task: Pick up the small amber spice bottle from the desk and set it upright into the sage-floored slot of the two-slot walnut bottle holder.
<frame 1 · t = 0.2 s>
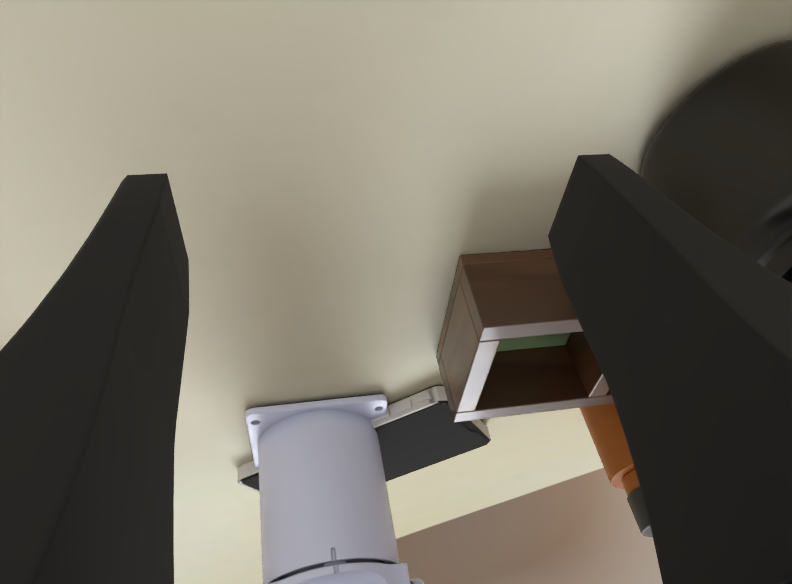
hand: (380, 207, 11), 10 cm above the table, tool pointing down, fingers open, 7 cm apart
smartphone: (363, 443, 41), on the table, touching arm
spice bottle: (604, 374, 39), on the table
holder: (586, 298, 32), on the table
ink bottle: (740, 133, 25), on the table
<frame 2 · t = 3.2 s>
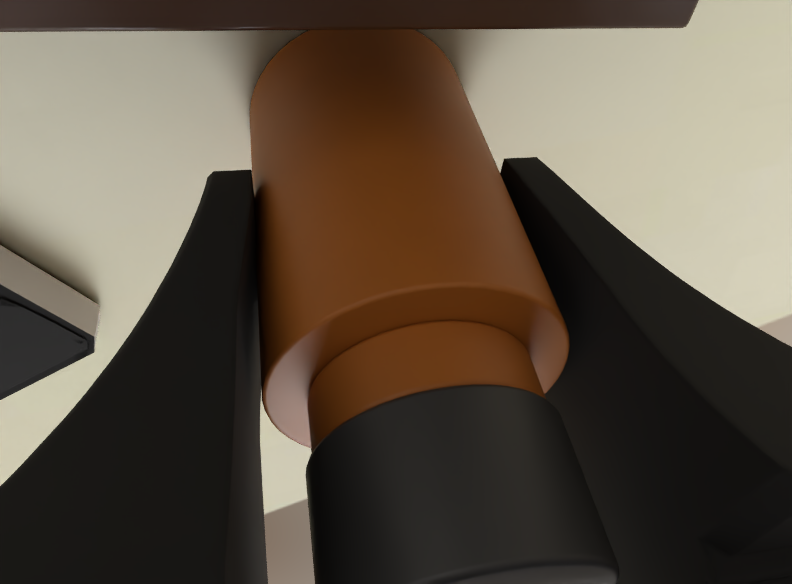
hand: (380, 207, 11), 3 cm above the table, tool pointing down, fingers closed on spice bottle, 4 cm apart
spice bottle: (358, 120, 13), on the table, touching gripper
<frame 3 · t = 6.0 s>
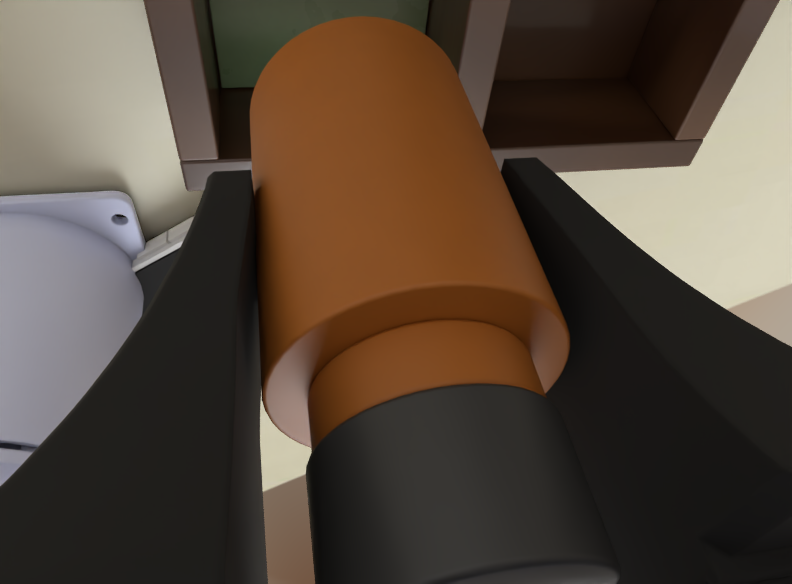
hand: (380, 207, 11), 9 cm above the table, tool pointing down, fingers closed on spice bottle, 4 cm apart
smartphone: (166, 314, 27), on the table, touching arm
spice bottle: (358, 119, 13), point 7 cm above the table, touching gripper
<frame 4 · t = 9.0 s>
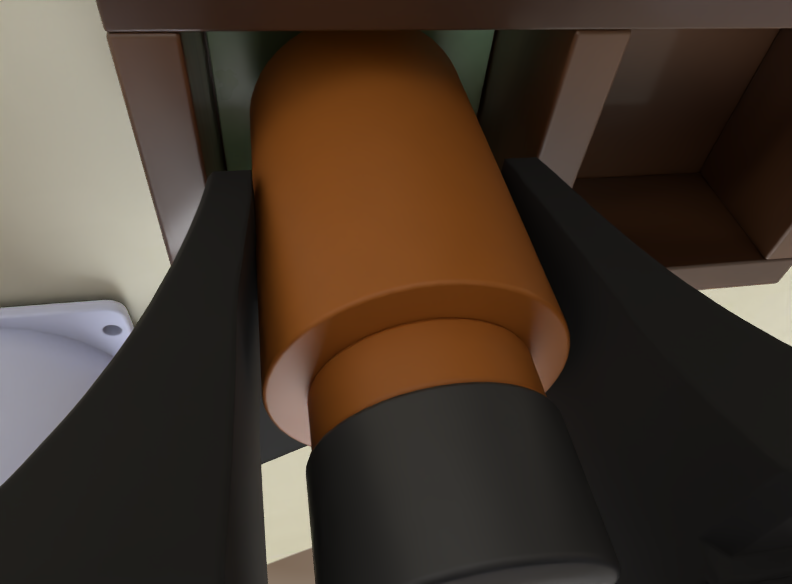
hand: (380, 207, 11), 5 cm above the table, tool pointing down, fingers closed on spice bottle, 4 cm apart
smartphone: (176, 412, 24), on the table, touching arm
spice bottle: (358, 118, 13), point 2 cm above the table, touching gripper
holder: (496, 67, 15), on the table
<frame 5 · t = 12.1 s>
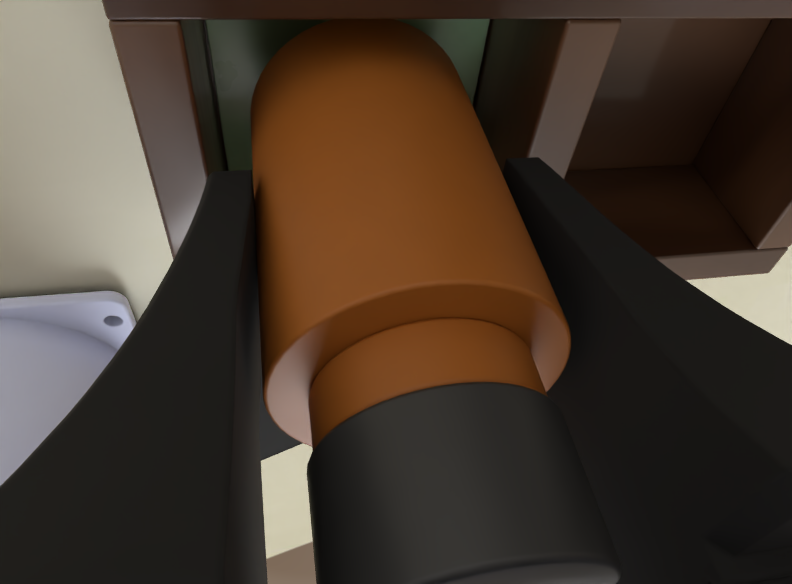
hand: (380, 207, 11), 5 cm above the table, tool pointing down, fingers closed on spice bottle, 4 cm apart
smartphone: (186, 405, 25), on the table, touching arm
spice bottle: (358, 118, 13), point 2 cm above the table, touching gripper
holder: (491, 60, 15), on the table
when the fingers open (5 cm above the table, at t = 14.9 s): spice bottle drops 1 cm, resting on holder.
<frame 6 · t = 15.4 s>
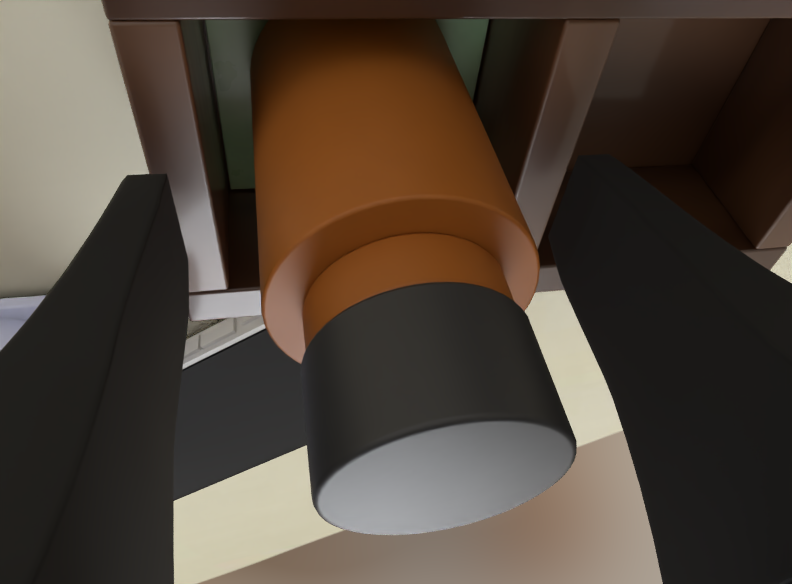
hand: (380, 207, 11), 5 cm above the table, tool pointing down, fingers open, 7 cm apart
smartphone: (195, 406, 25), on the table, touching arm
spice bottle: (351, 79, 14), point 1 cm above the table, touching holder
holder: (491, 60, 15), on the table
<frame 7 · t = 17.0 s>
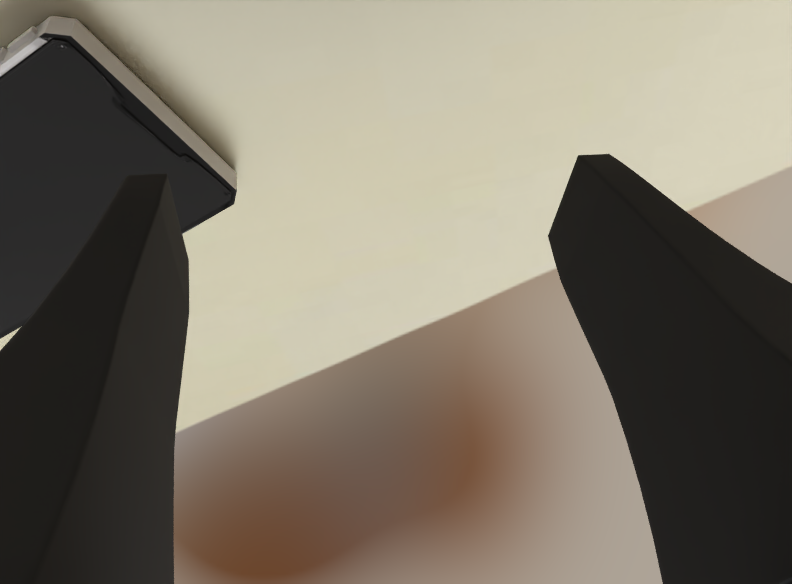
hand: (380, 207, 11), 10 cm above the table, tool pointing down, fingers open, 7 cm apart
smartphone: (9, 203, 23), on the table, touching arm
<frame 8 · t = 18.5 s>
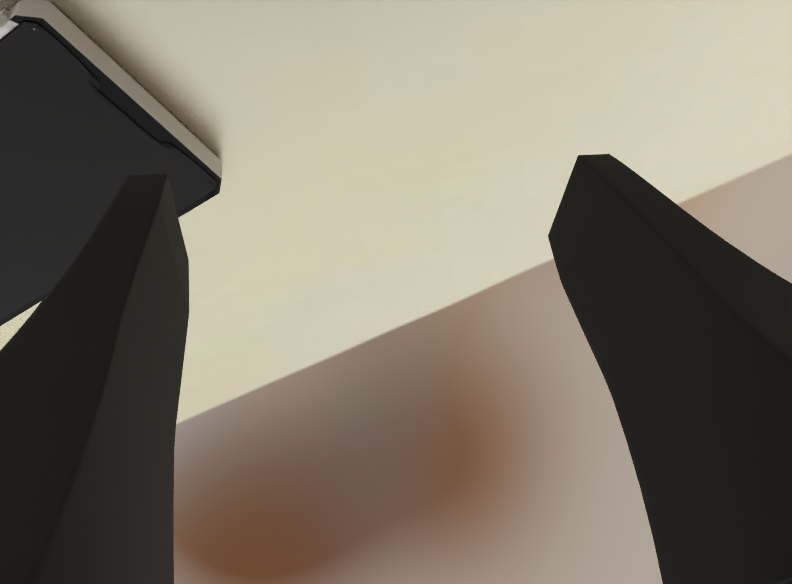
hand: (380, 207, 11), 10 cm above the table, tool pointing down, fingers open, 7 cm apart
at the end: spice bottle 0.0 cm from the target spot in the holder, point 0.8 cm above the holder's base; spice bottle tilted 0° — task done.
